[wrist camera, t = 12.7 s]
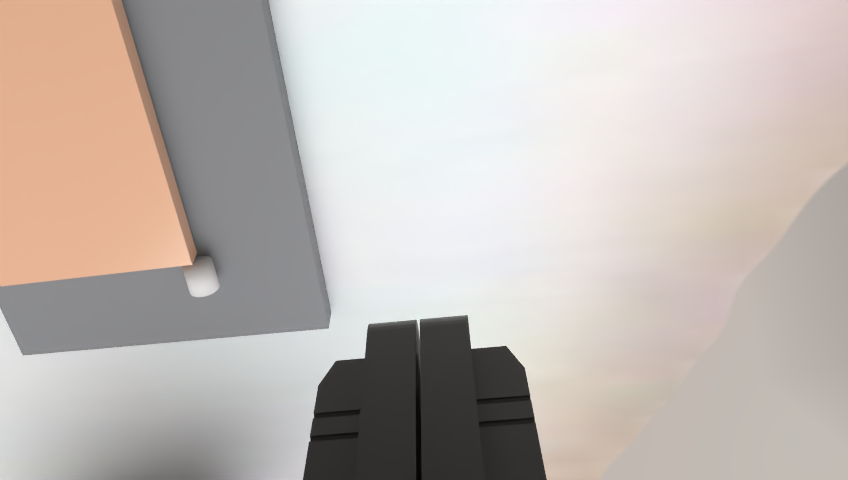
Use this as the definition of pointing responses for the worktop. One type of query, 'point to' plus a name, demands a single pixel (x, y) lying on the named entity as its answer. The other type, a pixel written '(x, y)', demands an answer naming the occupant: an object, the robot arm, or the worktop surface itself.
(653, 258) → the worktop surface
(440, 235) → the worktop surface
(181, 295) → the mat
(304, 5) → the worktop surface
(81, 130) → the tile
